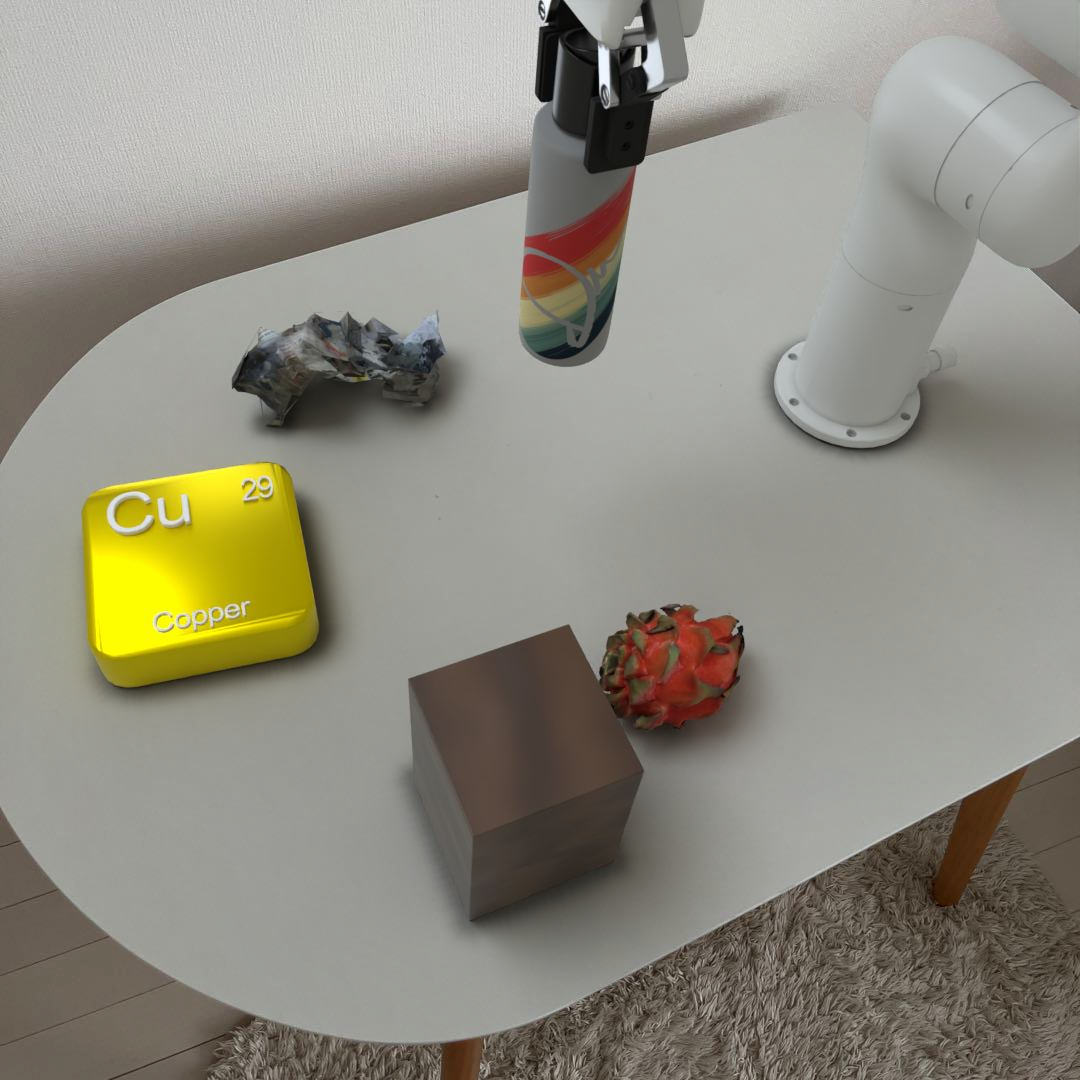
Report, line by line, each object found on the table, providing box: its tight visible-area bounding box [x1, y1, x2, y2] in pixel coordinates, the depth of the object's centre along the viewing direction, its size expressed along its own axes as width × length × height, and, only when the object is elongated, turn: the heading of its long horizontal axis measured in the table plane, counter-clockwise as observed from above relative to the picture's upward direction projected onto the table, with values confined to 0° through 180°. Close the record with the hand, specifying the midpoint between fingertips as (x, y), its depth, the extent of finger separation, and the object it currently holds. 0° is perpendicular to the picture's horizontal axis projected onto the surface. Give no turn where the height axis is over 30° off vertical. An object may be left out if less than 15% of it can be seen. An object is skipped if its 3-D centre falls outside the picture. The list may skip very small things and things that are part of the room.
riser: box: [407, 623, 645, 922], centre depth 67 cm, size 10×10×14 cm
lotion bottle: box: [518, 26, 638, 368], centre depth 62 cm, size 6×6×20 cm
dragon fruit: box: [598, 603, 746, 733], centre depth 76 cm, size 8×8×12 cm
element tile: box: [80, 461, 320, 689], centre depth 80 cm, size 15×15×5 cm
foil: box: [231, 309, 447, 427], centre depth 92 cm, size 12×11×15 cm
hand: (588, 127), depth 58 cm, fingers closed on lotion bottle, 5 cm apart
